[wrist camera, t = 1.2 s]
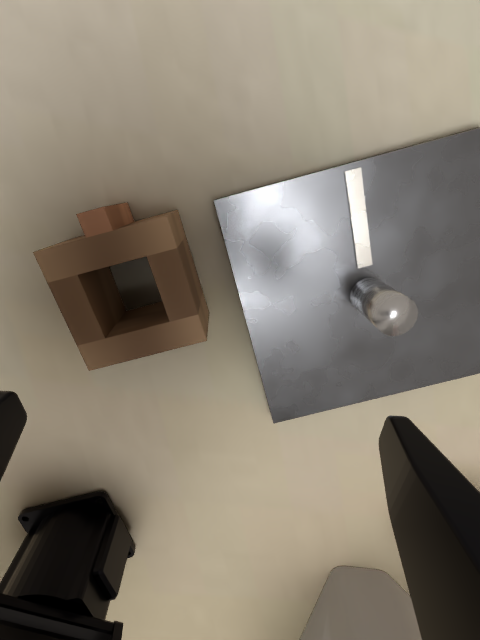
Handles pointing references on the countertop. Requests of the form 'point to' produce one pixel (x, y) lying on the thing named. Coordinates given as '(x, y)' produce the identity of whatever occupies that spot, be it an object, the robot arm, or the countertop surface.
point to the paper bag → (362, 608)
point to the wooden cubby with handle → (103, 296)
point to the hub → (361, 275)
